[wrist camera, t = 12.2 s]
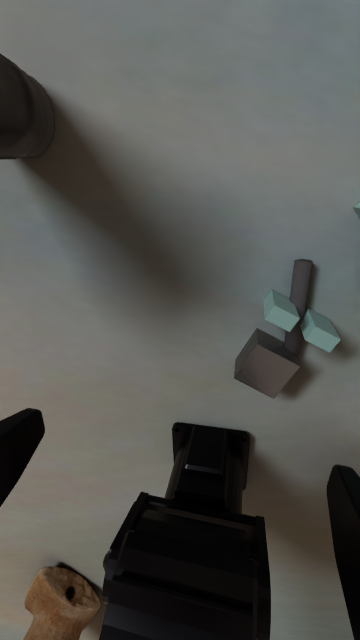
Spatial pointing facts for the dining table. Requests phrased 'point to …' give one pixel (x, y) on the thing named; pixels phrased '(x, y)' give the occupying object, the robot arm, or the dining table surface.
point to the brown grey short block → (265, 364)
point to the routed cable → (298, 302)
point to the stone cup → (59, 605)
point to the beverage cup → (23, 114)
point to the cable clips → (313, 323)
